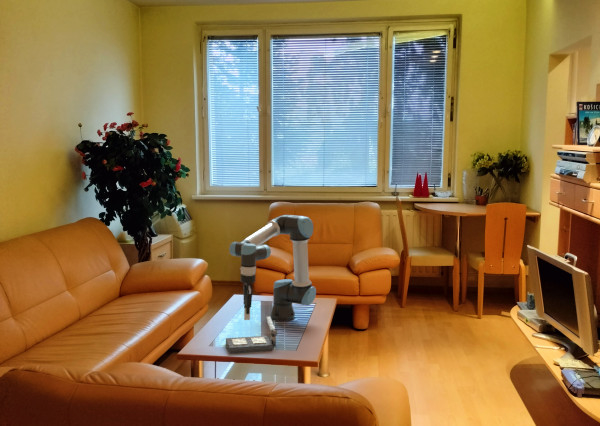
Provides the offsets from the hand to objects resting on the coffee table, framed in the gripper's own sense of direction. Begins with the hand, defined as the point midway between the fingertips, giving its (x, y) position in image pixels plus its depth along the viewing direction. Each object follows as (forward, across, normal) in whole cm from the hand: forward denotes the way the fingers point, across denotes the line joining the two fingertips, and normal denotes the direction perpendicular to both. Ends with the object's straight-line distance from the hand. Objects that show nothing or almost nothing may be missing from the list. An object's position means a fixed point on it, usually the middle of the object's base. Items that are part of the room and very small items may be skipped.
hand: (247, 319), depth 275 cm
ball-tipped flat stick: (+9, -11, +16) cm, 21 cm away
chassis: (+15, 0, +3) cm, 15 cm away
